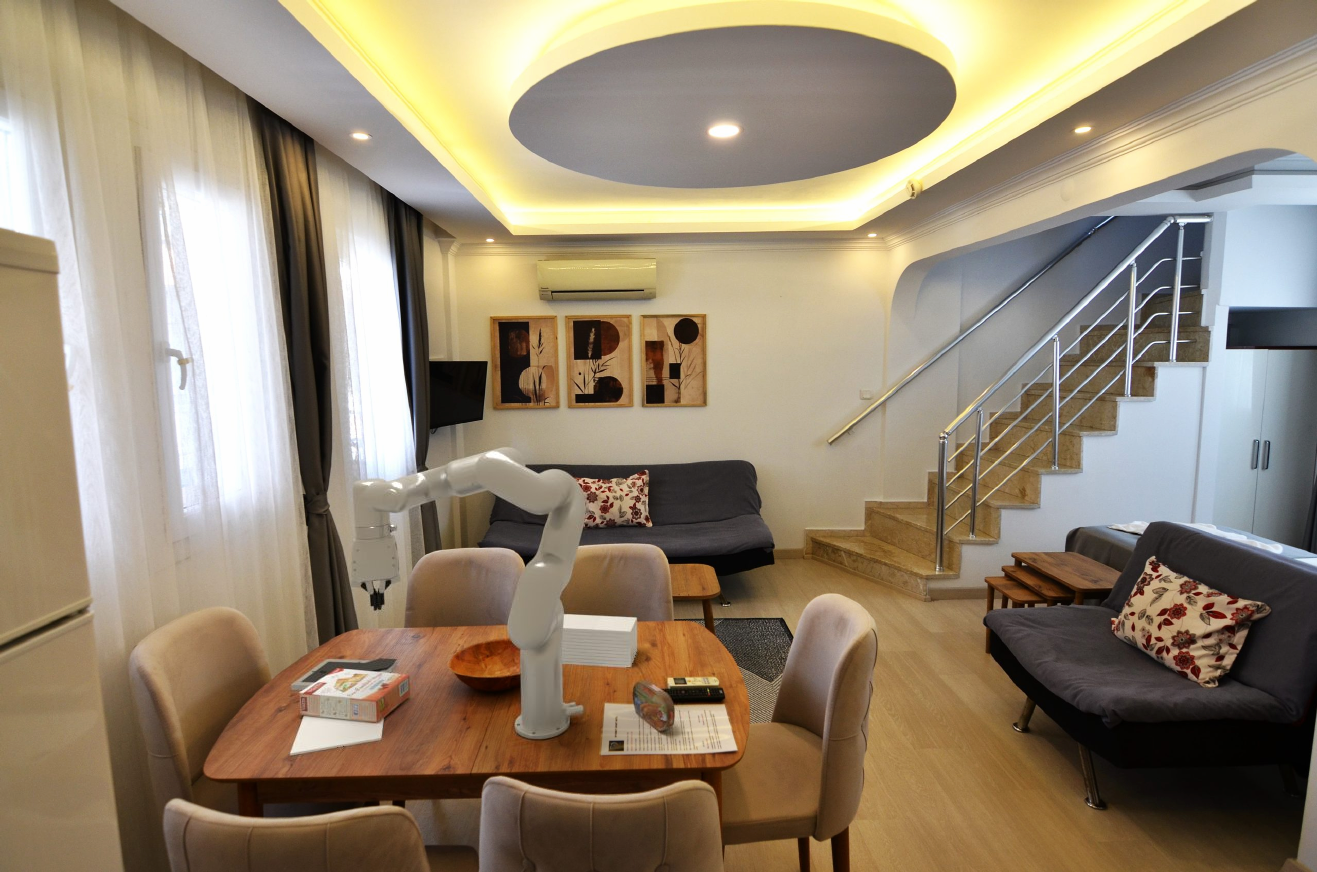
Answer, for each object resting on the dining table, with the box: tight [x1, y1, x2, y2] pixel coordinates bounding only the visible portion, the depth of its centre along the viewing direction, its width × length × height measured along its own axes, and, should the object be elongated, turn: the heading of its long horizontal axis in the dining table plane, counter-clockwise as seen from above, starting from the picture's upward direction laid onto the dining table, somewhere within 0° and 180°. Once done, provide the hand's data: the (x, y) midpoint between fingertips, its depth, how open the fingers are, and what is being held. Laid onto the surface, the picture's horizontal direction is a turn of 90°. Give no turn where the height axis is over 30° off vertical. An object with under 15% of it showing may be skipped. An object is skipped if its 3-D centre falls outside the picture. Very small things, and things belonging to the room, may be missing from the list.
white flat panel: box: [289, 715, 385, 757], centre depth 152 cm, size 18×22×1 cm
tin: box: [631, 680, 676, 732], centre depth 152 cm, size 15×3×8 cm, turn 33°
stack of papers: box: [562, 613, 638, 668], centre depth 188 cm, size 32×11×11 cm, turn 82°
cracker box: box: [298, 668, 411, 722], centre depth 159 cm, size 14×6×21 cm
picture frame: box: [290, 657, 398, 691], centre depth 175 cm, size 16×3×21 cm
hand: (377, 608), depth 152 cm, fingers closed
